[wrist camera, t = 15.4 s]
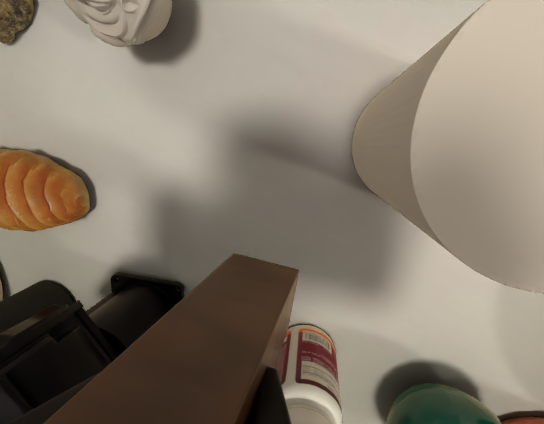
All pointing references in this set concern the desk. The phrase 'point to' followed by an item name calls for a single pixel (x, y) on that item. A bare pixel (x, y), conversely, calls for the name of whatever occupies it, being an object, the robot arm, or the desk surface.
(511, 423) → the bowl
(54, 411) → the robot arm
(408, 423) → the sphere
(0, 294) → the supplement tub
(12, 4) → the rock
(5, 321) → the flashlight
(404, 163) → the cup
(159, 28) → the white head sculpture
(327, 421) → the pill bottle
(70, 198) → the pastry
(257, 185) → the desk surface
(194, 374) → the dark brown bar
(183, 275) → the desk surface
